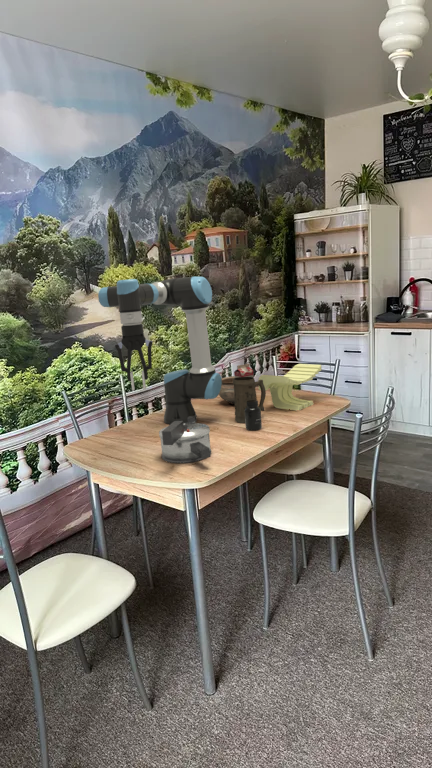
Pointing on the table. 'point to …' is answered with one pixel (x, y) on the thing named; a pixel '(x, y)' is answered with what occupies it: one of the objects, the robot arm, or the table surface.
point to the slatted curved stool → (290, 386)
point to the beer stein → (246, 395)
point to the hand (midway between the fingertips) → (139, 389)
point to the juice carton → (243, 371)
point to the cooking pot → (227, 389)
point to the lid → (183, 431)
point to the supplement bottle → (253, 416)
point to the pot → (187, 450)
